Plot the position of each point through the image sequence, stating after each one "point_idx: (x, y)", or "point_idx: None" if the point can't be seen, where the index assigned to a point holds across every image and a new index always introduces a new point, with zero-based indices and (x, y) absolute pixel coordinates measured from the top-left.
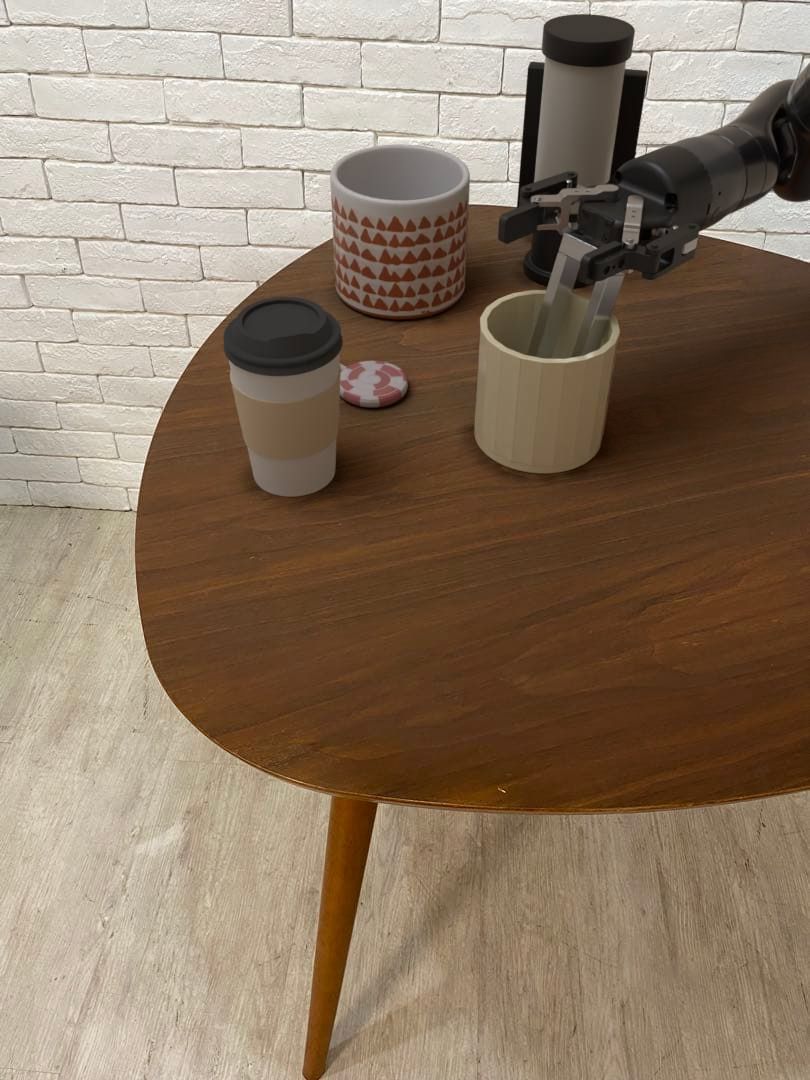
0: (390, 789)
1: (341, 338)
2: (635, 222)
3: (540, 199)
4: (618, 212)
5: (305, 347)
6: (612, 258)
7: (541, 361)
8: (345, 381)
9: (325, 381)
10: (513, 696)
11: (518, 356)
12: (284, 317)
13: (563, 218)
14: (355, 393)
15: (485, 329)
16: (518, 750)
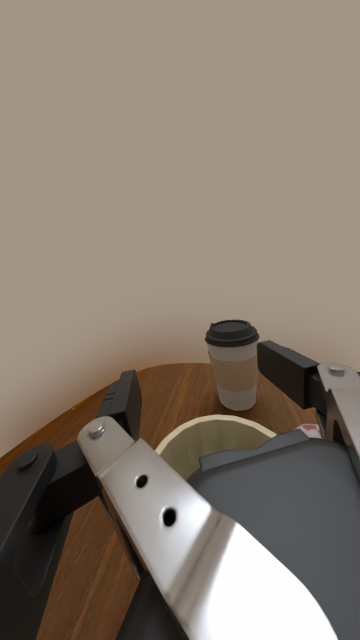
0: (101, 389)
1: (224, 345)
2: (114, 462)
3: (329, 370)
4: (247, 516)
5: (209, 332)
6: (106, 401)
7: (166, 437)
8: (314, 427)
9: (211, 352)
10: (86, 424)
11: (183, 424)
12: (233, 327)
13: (327, 436)
14: (298, 428)
15: (233, 418)
16: (74, 417)
